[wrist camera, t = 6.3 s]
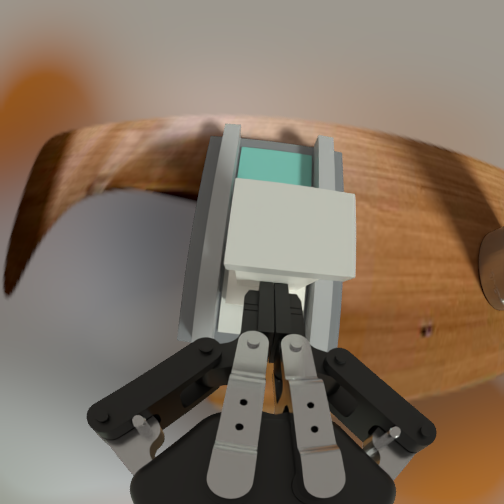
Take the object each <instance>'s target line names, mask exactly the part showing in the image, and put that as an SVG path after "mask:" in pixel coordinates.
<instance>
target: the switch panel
mask: <svg viewBox="0 0 504 504" xmlns="http://www.w3.org/2000/svg"><path fill="white" fill-rule="evenodd" d="M236 178H242V179H252V180H261V181H270V182H278V183H285V184H293V185H300V186H307V187H314V188H320V189H327V190H333V191H339V192H344V187H343V163H342V153H341V152H335V151H334V142H333V138H331V137H326V136H321V135H318V138H317V140H316V143H315V145H314V147H307V146H301V145H294V144H287V143H279V142H271V141H263V140H254V139H243V138H241V125H236V124H225V128H224V133H223V137H218V136H211V137H210V142H209V146H208V151H207V155H206V160H205V165H204V169H203V174H202V179H201V184H200V189H199V195H198V200H197V205H196V211H195V216H194V222H193V228H192V234H191V240H190V246H189V252H188V259H187V265H186V273H185V280H184V287H183V294H182V302H181V310H180V319H179V328H178V337H177V340H180V341H185V342H191V343H192V342H194V341H195V340H197V339H199V338H203V337H209V338H213V339H215V340H217V341H218V342H219V343H220V344H221V343H228V342H231V341H233V340H235V339H236V338H237V337H238V336H239V335H240V332H241V325H242V315H243V306H240V305H231V304H226V303H225V302H226V293H227V285H228V276H229V270H227V269H225V266H224V258H225V251H226V243H227V235H228V228H229V221H230V213H231V206H232V199H233V192H234V186H235V179H236ZM342 282H343V281H333V280H322V279H319V280H317V281H315V282H313V283H311V284H309V285H307V286H306V287H305V299H304V310H303V318H304V326H305V335H306V339H307V340H308V341H309V343H310V345H311V346H313V347H314V348H316V349H319V350H322V351H325V352H329V351H330V350H331V349H333V348H337V345H338V335H339V324H340V312H341V299H342Z"/></svg>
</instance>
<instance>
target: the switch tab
mask: <svg viewBox="0 0 504 504" xmlns="http://www.w3.org/2000/svg"><path fill="white" fill-rule="evenodd" d="M224 266H225V269H227V270H229V276H228V285H227V293H226V302H225V303H226V304H231V305H240V306H244V296H245V294H246V293H247V292H248V291H249V290H257V291H258V290H259V283H260V281H263V282H273V284H274V283H283V284H288V289H289V294H297V295H298V297H299V298H300V300H301V303H302V310H304V299H305V287H306V286H307V285H309V284H311V283H313V282H315V281H317V280H319V279H322V280H333V281H347V280H350V279H352V278H355V267H356V207H355V194H350V193H345V192H339V191H333V190H327V189H320V188H314V187H307V186H300V185H293V184H285V183H278V182H270V181H261V180H252V179H242V178H236V179H235V186H234V192H233V199H232V206H231V213H230V221H229V228H228V235H227V243H226V251H225V258H224Z"/></svg>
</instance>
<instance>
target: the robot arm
mask: <svg viewBox="0 0 504 504" xmlns="http://www.w3.org/2000/svg"><path fill="white" fill-rule="evenodd" d="M479 273H480V279H481V284H482V288H483V291H484V294H485V296H486V298H487V300H488V301H489V303H490V304H491V305H492V306H493V307H494V308H495V309H497V310H504V226H503V227H501V228H499V229H497V230H494V231H492V232H490V233H488V234H487V235H486V236H485V237H484V239H483V241H482V244H481V247H480V253H479ZM268 357H269V363H274V370H273V374H272V381H273V392H274V404H275V410H274V414H270V413H266V412H263V411H262V408H263V400H264V391H265V382H266V379H265V374H266V365H267V362H268ZM222 385H228V386H227V390H226V395H225V399H224V404H223V408H222V412H220V413H216V414H213V415H211V416H208V417H207V418H205V419H203V420H202V421H201V422H199V423H198V424H197V425H196V426H195V427H194V428H192V429H191V430H190V431H189V432H187V433H186V434H185V435H184V436H182V437H181V438H180V439H179V440H178V441H176V442H175V443H174V444H172V445H171V446H170V447H168V448H167V449H166V450H165V451H163V452H162V453H161V454H159V455H158V456H157V457H155V454H156V452H157V450H158V449H159V448H160V447H161V446H162V444H163V443H164V440H165V436H164V432H163V429H165V428H166V427H168V426H169V425H170V424H172V423H173V422H175V421H176V420H177V419H179V418H180V417H181V416H183V415H184V414H186V413H187V412H188V411H190V410H191V409H192V408H194V407H195V406H196V405H198V404H199V403H200V402H201V401H203V400H204V399H205V398H207V397H208V396H209V395H210V394H212V393H213V392H214V391H216V390H217V389H218V388H219V387H220V386H222ZM330 412H331V413H332V414H333V415H335V416H336V417H337V418H338V419H339V420H340V421H341V422H342V423H343V424H344V425H345V426H346V427H347V428H348V429H349V430H350V431H351V432H353V433H354V434H355V435H356V436H357V437H358V438H359V439H360V440H361V441H362V442H363V449H362V448H361V447H360V446H359V445H358V444H356V443H355V442H354V441H353V440H352V439H351V438H350V437H349V436H348V435H347V433H346V432H345V431H344V430H342V429H341V427H340V426H338V425H337V424H336V423H335V422H333V421H332V420H331V415H330ZM87 421H88V424H89V425H90V426H91V428H93V430H94V431H95V432H96V433H97V435H98V436H99V437H100V438H101V439H102V440H103V441H105V442H106V443H107V444H108V445H109V446H110V447H111V448H112V449H113V451H114V452H115V453H116V455H117V456H118V457H119V459H120V460H121V461H122V462H123V464H124V465H125V466H126V467H127V468H128V470H129V471H130V472H131V473H132V474H133V476H134V477H133V478H132V481H131V485H130V494H131V498H132V500H133V503H134V504H393V503H394V500H395V496H396V487H395V484H394V481H393V480H394V479H395V478H396V477H397V476H398V474H399V473H400V472H401V471H402V470H403V469H404V467H405V466H406V465H407V463H408V462H409V461H410V460H411V458H412V457H413V456H414V455H415V454H416V453H417V452H419V451H420V450H422V449H424V448H425V447H427V446H428V445H430V444H431V443H432V442H433V441H434V440H435V437H436V428H435V426H434V424H433V423H432V422H431V421H430V420H429V419H427V418H426V417H425V416H424V415H423V414H421V413H420V412H419V411H418V410H417V409H416V408H414V407H413V406H412V405H411V404H410V403H408V402H407V401H406V400H405V399H404V398H403V397H401V396H400V395H399V394H398V393H397V392H396V391H394V390H393V389H392V388H391V387H390V386H388V385H387V384H386V383H385V382H384V381H383V380H381V379H380V378H379V377H378V376H377V375H376V374H374V373H373V372H372V371H371V370H370V369H369V368H368V367H366V366H365V365H364V364H363V363H362V362H361V361H359V360H358V359H357V358H356V357H355V356H354V355H352V354H351V353H350V352H349V351H347V350H346V349H343V348H333V349H331V350H330V351H329V352H325V351H322V350H319V349H316V348H314V347H313V346H311V345H310V343H309V341H308V340H307V339H306V335H305V326H304V318H303V310H302V303H301V300H300V298H299V297H298V295H297V294H289V289H288V284H283V283H274V284H273V282H263V281H260V283H259V290H258V291H257V290H249V291H248V292H247V293H246V294H245V296H244V306H243V315H242V325H241V332H240V335H239V336H238V337H237V338H236V339H235V340H233V341H231V342H228V343H221V344H220V343H219V342H218V341H217V340H215V339H213V338H209V337H203V338H199V339H197V340H195V341H194V342H192V343H191V344H189V345H188V346H186V347H185V348H183V349H181V350H180V351H178V352H177V353H175V354H174V355H172V356H171V357H169V358H168V359H166V360H165V361H163V362H161V363H160V364H158V365H157V366H155V367H154V368H152V369H151V370H149V371H147V372H146V373H144V374H143V375H141V376H139V377H138V378H136V379H135V380H133V381H131V382H130V383H128V384H126V385H125V386H123V387H122V388H120V389H119V390H117V391H115V392H113V393H112V394H110V395H108V396H107V397H105V398H103V399H102V400H100V401H98V402H97V403H95V404H93V405H92V406H91V407H90V408H89V410H88V412H87Z"/></svg>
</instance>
